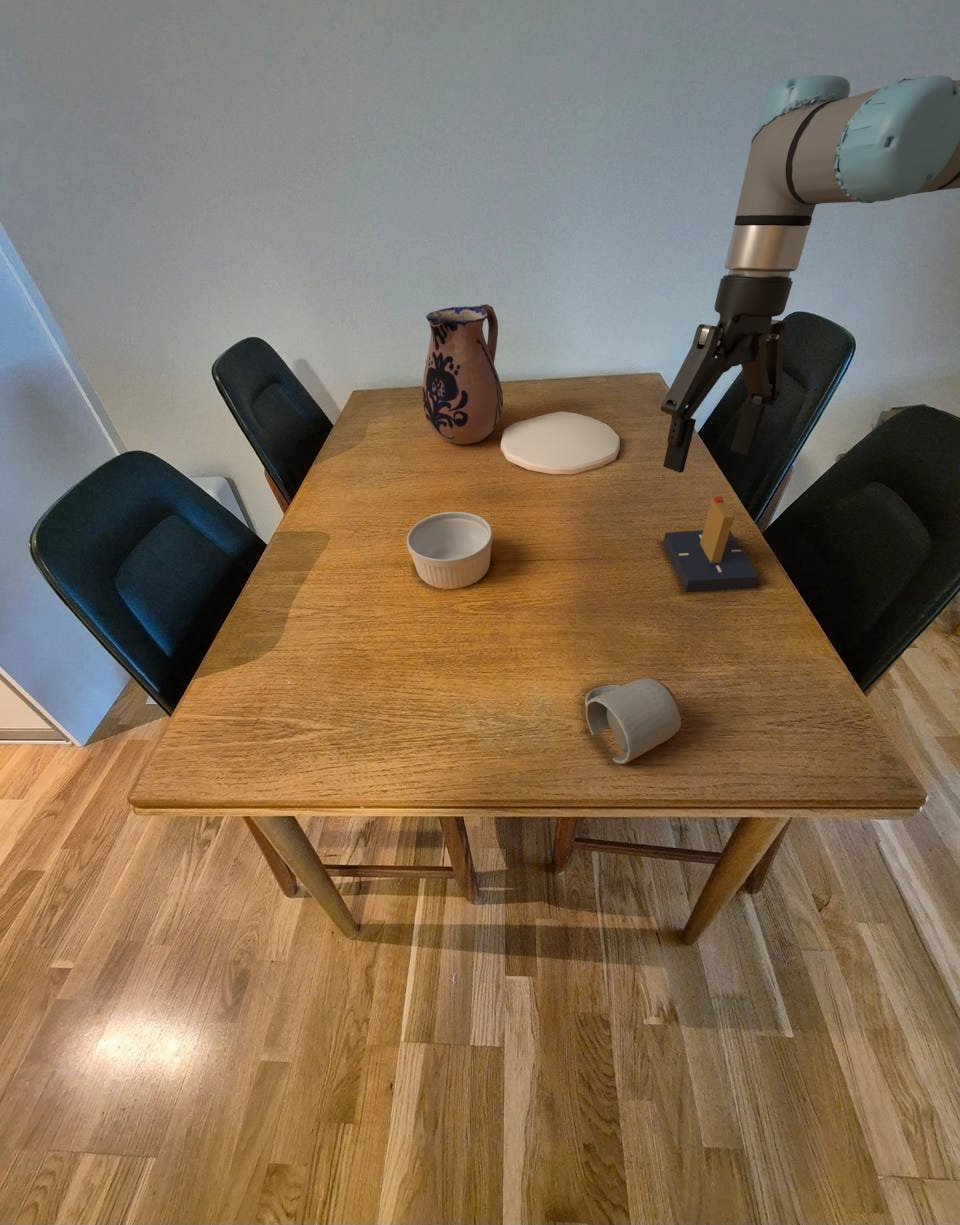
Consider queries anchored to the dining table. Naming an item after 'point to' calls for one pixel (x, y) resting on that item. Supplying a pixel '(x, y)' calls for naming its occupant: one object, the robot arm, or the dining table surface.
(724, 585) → the panel
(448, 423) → the ceramic pitcher
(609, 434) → the decorative plate
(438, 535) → the ramekin
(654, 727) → the ceramic mug
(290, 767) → the dining table surface
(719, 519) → the knob
